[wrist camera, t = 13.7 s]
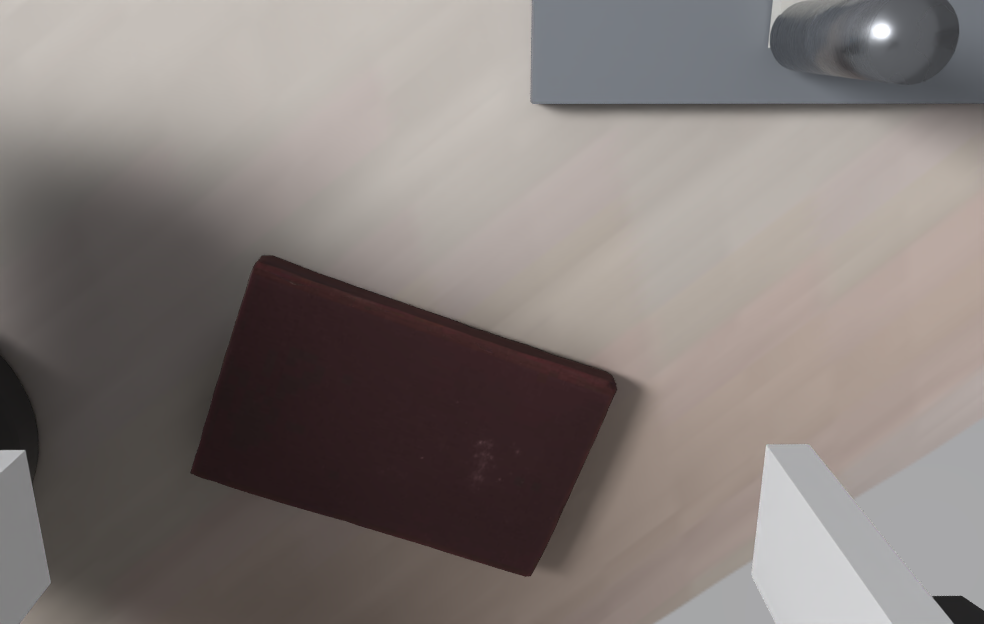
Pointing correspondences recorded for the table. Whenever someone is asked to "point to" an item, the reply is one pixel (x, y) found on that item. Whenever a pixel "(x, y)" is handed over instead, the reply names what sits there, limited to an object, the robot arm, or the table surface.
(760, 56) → the dial base plate
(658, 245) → the table surface
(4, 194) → the table surface
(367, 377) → the book
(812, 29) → the white grey handled piece
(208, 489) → the table surface
